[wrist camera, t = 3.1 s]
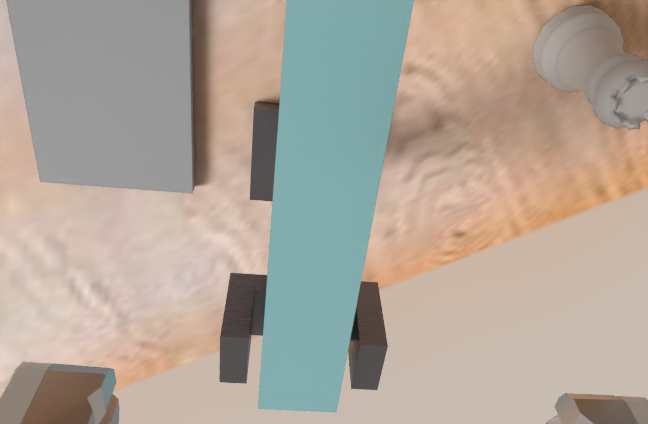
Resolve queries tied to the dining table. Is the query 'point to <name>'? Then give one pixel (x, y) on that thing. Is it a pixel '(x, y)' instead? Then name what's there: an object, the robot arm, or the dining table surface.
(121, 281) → the dining table surface
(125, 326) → the dining table surface
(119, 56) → the mat
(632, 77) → the rook chess piece
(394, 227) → the dining table surface
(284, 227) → the rail
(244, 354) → the forked support stand
